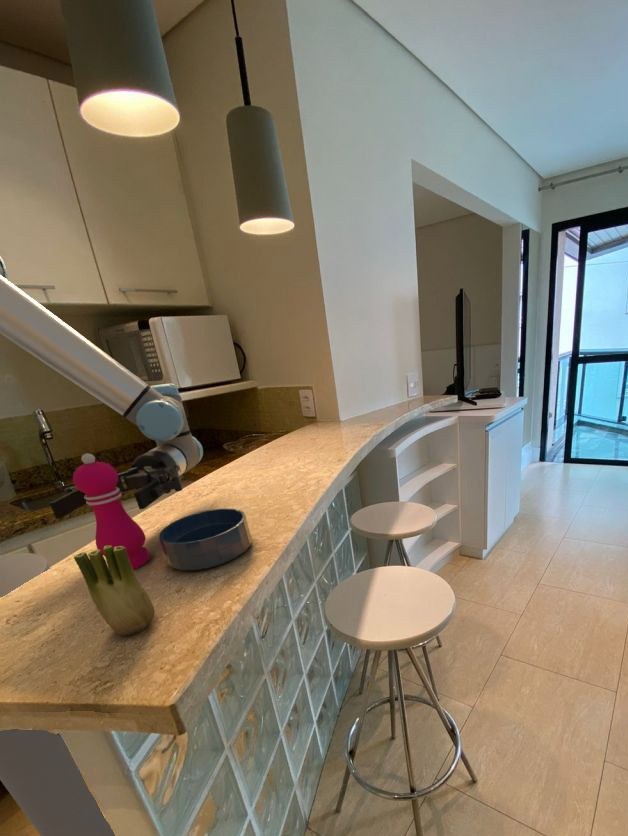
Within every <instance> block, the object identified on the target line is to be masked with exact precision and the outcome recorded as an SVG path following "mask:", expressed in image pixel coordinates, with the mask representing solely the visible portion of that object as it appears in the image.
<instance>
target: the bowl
mask: <svg viewBox="0 0 628 836" xmlns="http://www.w3.org/2000/svg"><path fill="white" fill-rule="evenodd" d="M158 539H159V542H160V545H161V548H162V551H163V553H164V556H165V559H166V561H167V565H169V566H170V567H171V568H172V569H175V570H179V571H199V570H206V569H211V568H214V567H218V566H220V565H224V564H225V563H228V562H230V561H232V560H234V559H235V558H237V557H238V556H240V555H242V554H243V553H245V552H246V550H247V549H248V548H249V547H251V544H252V541H253V539H252V535H251V531H250V527H249V524H248V520H247V515H246V514H245V512H244V511H242V510H240V509H237V508H229V507H227V508H215V509H214V508H213V509H208V510H204V511H199V512H196V513H192V514H189V515H187V516H184V517H181V518H179V519H177V520H175V521H173V522H171V523H170V524H168V525H166V526H165V527H164V528H163V529H162V530H161V531H160V532H159V533H158Z"/></svg>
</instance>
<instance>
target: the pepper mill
mask: <svg viewBox="0 0 628 836" xmlns="http://www.w3.org/2000/svg"><path fill="white" fill-rule="evenodd" d="M81 462H82V463H83V464H82V465H80V466H79V467H78V468H76V469H75V470H74V471H73V475H72V481H73V485H74V486H76V488H77V489H78V490H79V491H81V492H83V493H85V494H86V495H85V496H84V498H85V499H86V505H88V506H90V507H91V509H92V511H93V514H94V516H95V525H96V526H95V527H96V528H95V547H96V550H101V552H102V554H103V557H105V553H104V550H103V548H104V546H107V545H109V546H112V547H113V549H114V547H117V546H123V547H125V548H126V550H127V554H128V557H129V560H130V563H131V565H132V568H133V570H135V569H137V568H140V567H142V566H143V565H145V564H146V563H148V562H149V560H150V558H151V556H150V554H149V551H148V548H147V547H145V546H144V544H145V542H146V534H145V532H144V530H143V529H142V527H141V526H140V525H139V524H138V523H137V522H136V521H135V520H134V519H133V518H132V517H131V516H130V515H129V514H128V512H127V511H126V509H125V508H124V506H123V504H122V503H123V502H122V500H121V497H122V492H120V489H119V488H117V487H116V484H117V482H118V473H117V470H116V469H115V468H114V466H112V465H111V464H110V463H107V462H104V461H96V457H95V455H93V454H92V453H88V452H87V453H84V454H82V455H81ZM106 564H107V565H108V563H107V562H106Z"/></svg>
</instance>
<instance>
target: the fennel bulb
mask: <svg viewBox="0 0 628 836" xmlns="http://www.w3.org/2000/svg"><path fill="white" fill-rule="evenodd" d="M103 550H104V553H105V556H103V554H102V552H101V550H98V549H95V550H92V551H90V552H88V553H87V552H85V551H82V552H79V553H77V554H75V555H73V559H74V561H75V563H76V565H77V567H78V569H79V570H80V573H81V575H82V576H83V579H84V580H85V583H86V587H87V589H88V592H89V595H90V597H91V599H92V602H93V603H94V606H95V607H96V609H97V610H98V612H99V614H100V615H101V616H102V618H103V620H104V621H105V623H107V625H108V626H109V628H110V629H112V630H113V631H114V632H116V633H117V634H119V635H120V636H132V635H134V634H137V633H140V632H141V631H143V630H144V629H145V628H146V627H147V626H148V625H149V624H150V623H151V622H152V621H153V619H154V617H155V613H156V611H155V608H154V607H155V606H154V605H153V603H152V600H151V598H150V596H149V594H148V592H147V590H146V589H145V587H143V585H142V584H141V582H140V581H139V579H138V578H137V575H136V574H135V571H134V569H133V568H132V565H131V563H130V560H129V557H128V554H127V550H126V548H125V547H123V546H117V547H114V549H113V547H112V546H109V545H107V546H104V548H103ZM107 563H108V564H107Z"/></svg>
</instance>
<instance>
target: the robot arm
mask: <svg viewBox="0 0 628 836" xmlns="http://www.w3.org/2000/svg"><path fill="white" fill-rule="evenodd" d="M0 334H1V335H2V336H4V337H6V339H8V340H9V341H11V342H12V343H13V344H15V345H17V346H18V347H20V348H21V349H23V350H24V351H26V352H27V353H29V354H30V355H32V356H33V357H35V358H36V359H38V360H40V362H42V363H44V364H45V365H47V366H48V367H49V368H51V369H53V370H54V371H56V372H57V373H59V374H60V375H62V376H63V377H65V378H66V379H67V380H69V381H71V382H72V383H74V384H75V385H76V386H78V387H79V388H81V389H83V390H84V391H85V392H87V393H88V394H90V395H91V396H93V397H94V398H96V399H97V400H98V401H100V402H102V403H104V404H105V405H106V406H107V407H109V408H111V410H114V411H115V412H117V413H118V414H120V415H121V416H122V417H124V418H125V419H127V420H128V421H129V422H130V423H132V424H134V425H135V426H137V428H138V429H139V431H140V432H141V433H142V434H143V436H144V437H146V438H147V439H150V440H151V441H154V442H155V443H156V447H154V448H152V449H150V450H148V451H147V452H145V453H143V454H141V455H139V456H137V457H136V458H135V459H134V460H133V462H132V465H131V467H130V468H128V469H126V470H125V471H122V472H119V473H117V474H118V482H117V484H116V487H117V488H119V489H120V493H126V492H129V491H133V490H138V491H136V492H133V495H134V499H135V501H136V503H137V506H138V509H139V510H145V509H146V508H147V507H149V506H150V505H151V504H153V503H154V502H155V501H156V500H158V499H159V498H161V497H162V496H163V495H165V494H170V493H171V492H172V490H174V491H175V492H181V491H182V490H183V485H182V482H181V480H182V479H184V476H183V474H185V473H187V472H188V471H190V470H192V469H193V468H195V467H197V465H198V464H199V463H200V461H201V460H202V458H203V456H204V449H203V445H202V444H201V442H200V441H199V440H198V439H197V438H196V437H195V436H193V435H192V432H191V430H190V427H189V423H188V419H187V416H186V411H185V408H184V404H183V401H182V399H183V398H182V396H181V395H180V392H179V389H178V386H177V385H176V384H174V383H162V384H154V385H149V384H148V383H147V382H145V381H144V380H142V379H141V378H140V377H139V376H137V375H136V374H134V373H133V372H131V371H130V370H129V369H127V368H126V367H125V366H124V365H122V364H121V363H119V362H118V361H117V360H115V359H114V358H113V357H111V356H110V355H109V354H107V352H105V351H103V350H102V349H101V348H100V347H98V346H96V345H95V344H94V343H92V341H90V340H88V339H87V338H86V337H85V336H83V335H82V334H80V333H79V332H78V331H76V330H75V329H74V328H72V327H71V326H70V325H69V324H67V323H66V322H64V321H63V320H62V319H60V318H59V317H58V316H57V315H55V314H54V313H52V312H51V311H50V310H48V309H46V307H44V306H43V305H42V304H40V303H39V302H37V301H36V300H35V299H33V298H32V297H31V296H29V295H28V294H26V293H25V291H23V290H22V289H20V288H19V287H17V286H16V285H15V284H13V283H12V282H11V281H9V275H8V269H7V266H6V264H5V261H4V259H3V258H2V256H1V255H0ZM123 483H124V484H125V486H126V487H124V485H123ZM63 491H64V493H65V494H64V495H62V496H61V497H58V498H56V499H54V500H53V501H50V502H49V506H50V508H51V511H52V512H53V515H54V516H55V519H57V520H58V519H62V518H64V517H66V516H67V515H69V514H71V513H73V512H74V511H76V510H77V509H79V508H82V507H85V505H87V503H86V502H87V501H86V499H85V498H84V496H85V495H86V494H85V493H83V492H81V491H79V490H78V489H77V488H76V486H75V485H74V486H70V487H66V488H64V490H63Z"/></svg>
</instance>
